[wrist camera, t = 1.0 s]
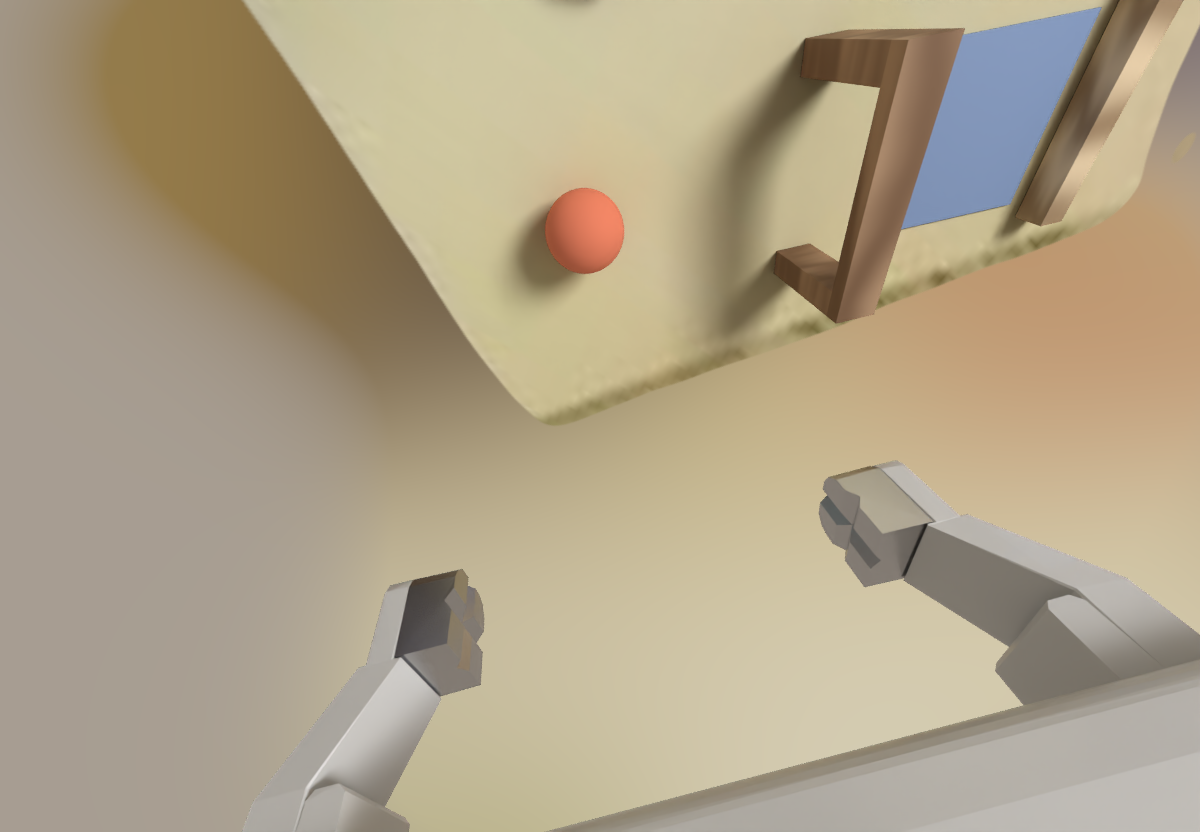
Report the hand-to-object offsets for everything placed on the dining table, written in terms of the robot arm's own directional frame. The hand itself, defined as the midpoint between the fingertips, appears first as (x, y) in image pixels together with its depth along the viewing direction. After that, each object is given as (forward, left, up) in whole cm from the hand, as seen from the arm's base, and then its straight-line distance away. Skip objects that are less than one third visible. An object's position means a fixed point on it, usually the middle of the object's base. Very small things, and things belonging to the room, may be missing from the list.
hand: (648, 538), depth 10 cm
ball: (+2, +3, -26) cm, 26 cm away
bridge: (+2, +21, -29) cm, 36 cm away
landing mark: (+2, +35, -29) cm, 45 cm away
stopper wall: (+2, +44, -29) cm, 52 cm away
